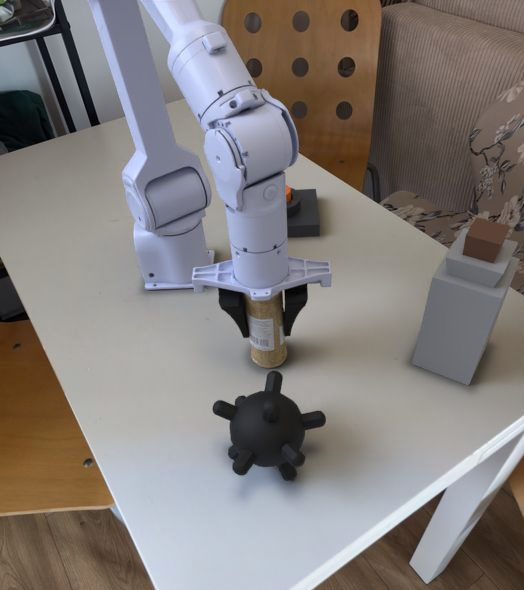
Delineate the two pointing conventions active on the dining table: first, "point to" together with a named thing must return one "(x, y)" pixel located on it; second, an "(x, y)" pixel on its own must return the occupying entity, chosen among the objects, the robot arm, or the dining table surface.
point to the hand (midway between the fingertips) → (266, 331)
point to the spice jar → (266, 330)
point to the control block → (303, 214)
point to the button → (288, 194)
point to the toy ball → (267, 429)
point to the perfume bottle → (466, 301)
